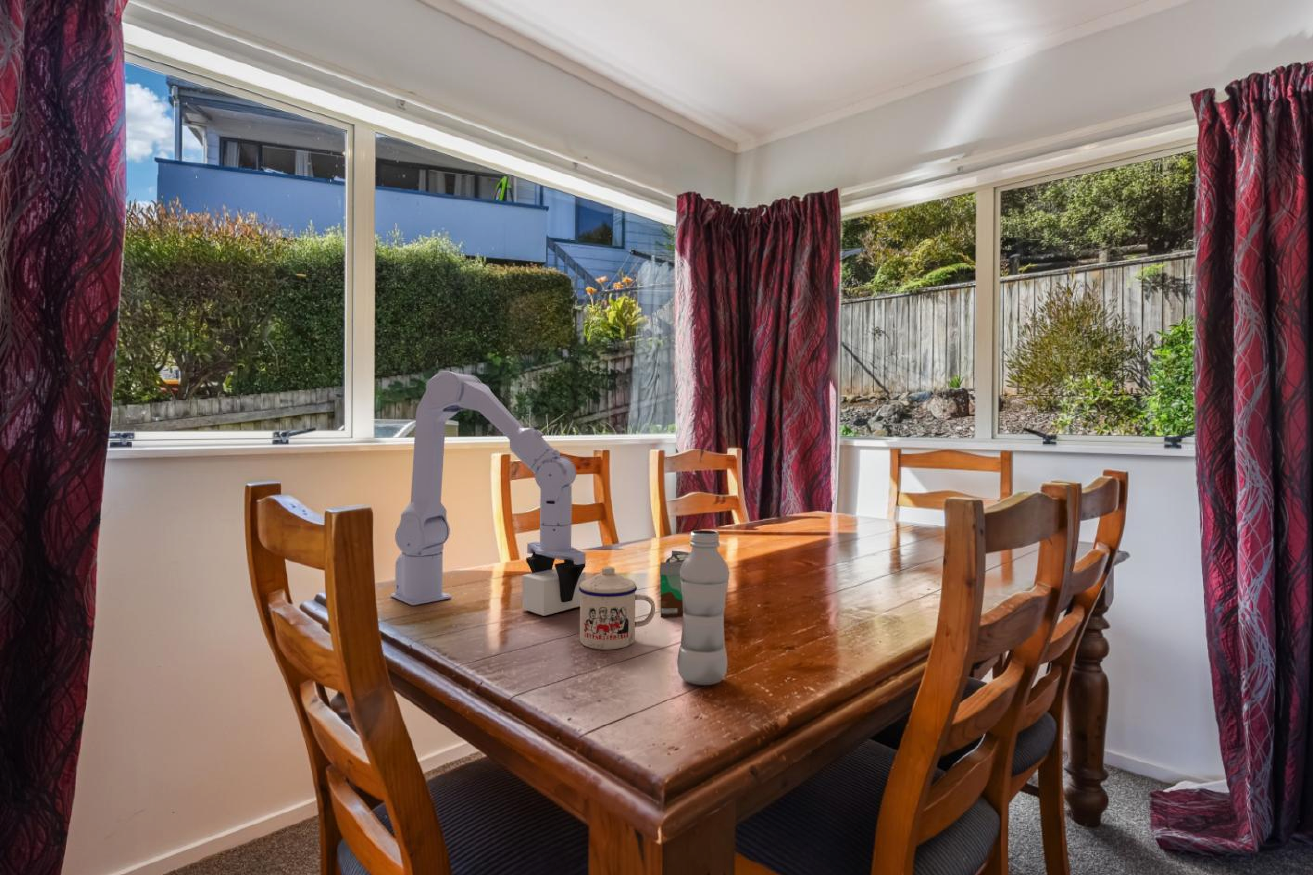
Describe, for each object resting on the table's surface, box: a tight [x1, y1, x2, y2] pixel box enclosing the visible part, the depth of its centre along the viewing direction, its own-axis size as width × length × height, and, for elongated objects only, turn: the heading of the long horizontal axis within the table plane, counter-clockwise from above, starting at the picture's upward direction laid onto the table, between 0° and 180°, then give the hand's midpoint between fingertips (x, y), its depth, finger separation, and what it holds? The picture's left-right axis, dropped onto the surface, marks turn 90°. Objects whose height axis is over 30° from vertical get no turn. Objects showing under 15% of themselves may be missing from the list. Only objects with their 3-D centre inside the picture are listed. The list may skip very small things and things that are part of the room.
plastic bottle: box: [676, 529, 730, 686], centre depth 88 cm, size 6×7×20 cm
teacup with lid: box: [579, 566, 656, 651], centre depth 104 cm, size 12×9×12 cm
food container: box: [659, 550, 690, 619], centre depth 122 cm, size 12×6×10 cm, turn 168°
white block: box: [521, 568, 586, 617], centre depth 122 cm, size 6×10×6 cm, turn 137°
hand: (554, 597), depth 122 cm, fingers closed on white block, 6 cm apart
